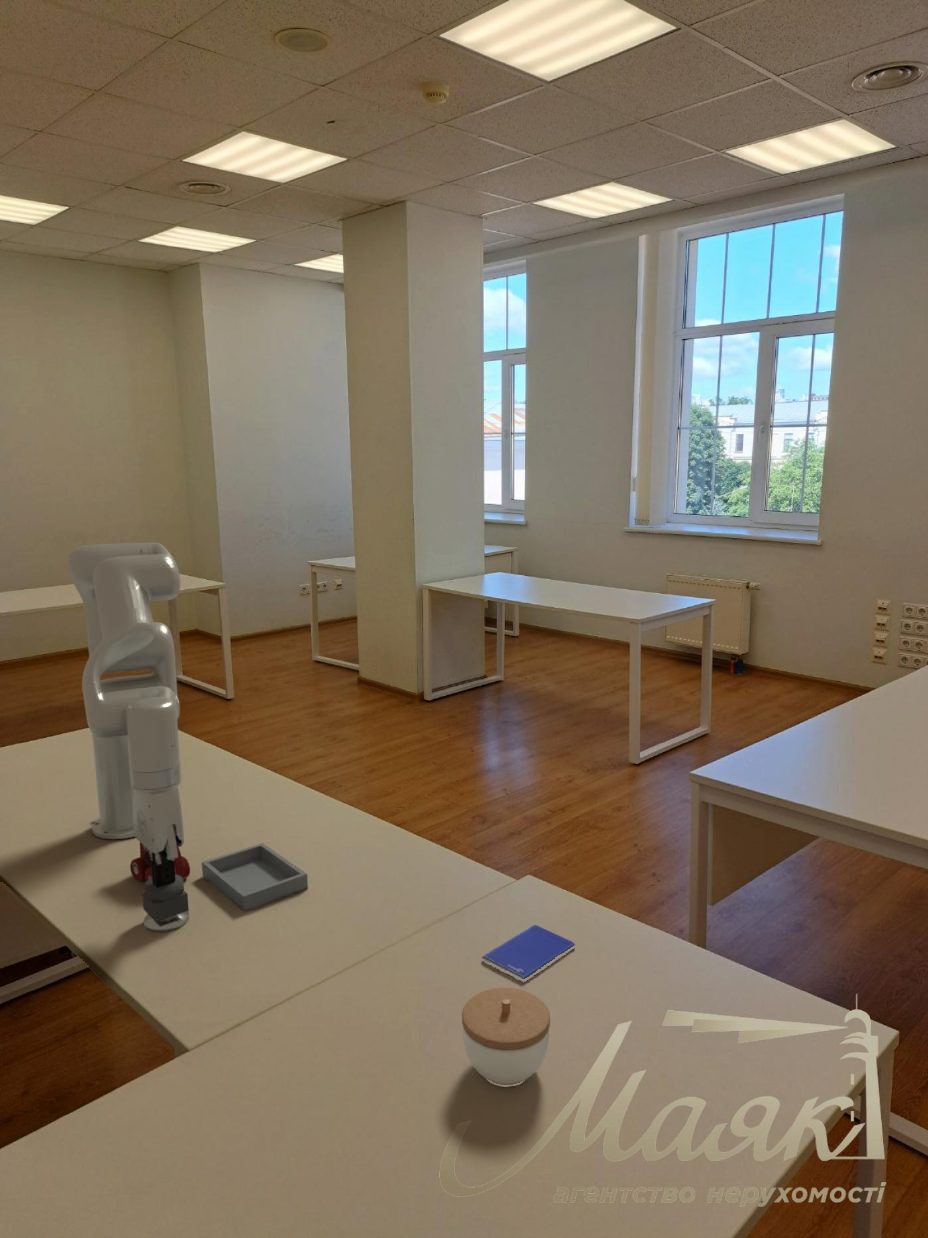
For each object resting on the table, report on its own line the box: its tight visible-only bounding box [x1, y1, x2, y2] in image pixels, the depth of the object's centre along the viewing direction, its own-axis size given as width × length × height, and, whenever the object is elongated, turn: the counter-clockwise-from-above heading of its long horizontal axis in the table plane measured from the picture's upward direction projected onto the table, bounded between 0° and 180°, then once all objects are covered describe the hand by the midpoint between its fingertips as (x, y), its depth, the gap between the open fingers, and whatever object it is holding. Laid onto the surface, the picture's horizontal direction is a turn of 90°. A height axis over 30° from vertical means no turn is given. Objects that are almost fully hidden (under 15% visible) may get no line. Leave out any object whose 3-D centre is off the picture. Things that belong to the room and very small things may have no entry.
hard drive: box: [481, 924, 576, 979], centre depth 130 cm, size 2×8×12 cm
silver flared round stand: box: [143, 911, 190, 933], centre depth 140 cm, size 7×7×5 cm
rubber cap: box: [141, 874, 189, 922], centre depth 139 cm, size 6×6×5 cm
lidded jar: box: [461, 987, 551, 1085], centre depth 104 cm, size 11×11×9 cm
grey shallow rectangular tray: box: [201, 842, 309, 913], centre depth 153 cm, size 17×12×3 cm
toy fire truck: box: [129, 842, 191, 883], centre depth 154 cm, size 7×12×10 cm, turn 49°
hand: (164, 883), depth 139 cm, fingers closed
